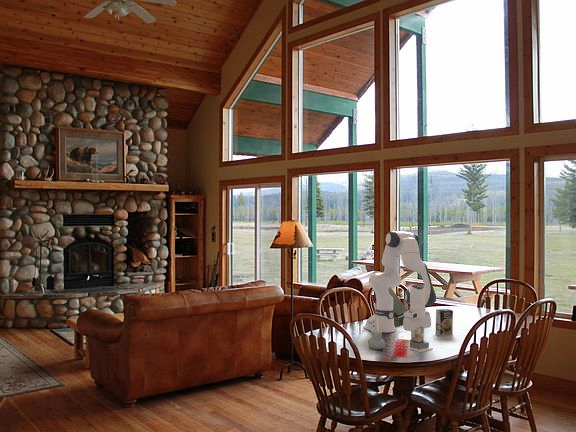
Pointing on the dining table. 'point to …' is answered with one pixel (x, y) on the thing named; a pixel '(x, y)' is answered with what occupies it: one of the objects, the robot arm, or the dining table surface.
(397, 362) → the dining table surface
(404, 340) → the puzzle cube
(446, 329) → the coffee box
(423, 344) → the socket board
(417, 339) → the banded block
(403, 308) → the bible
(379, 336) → the air freshener
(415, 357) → the dining table surface
